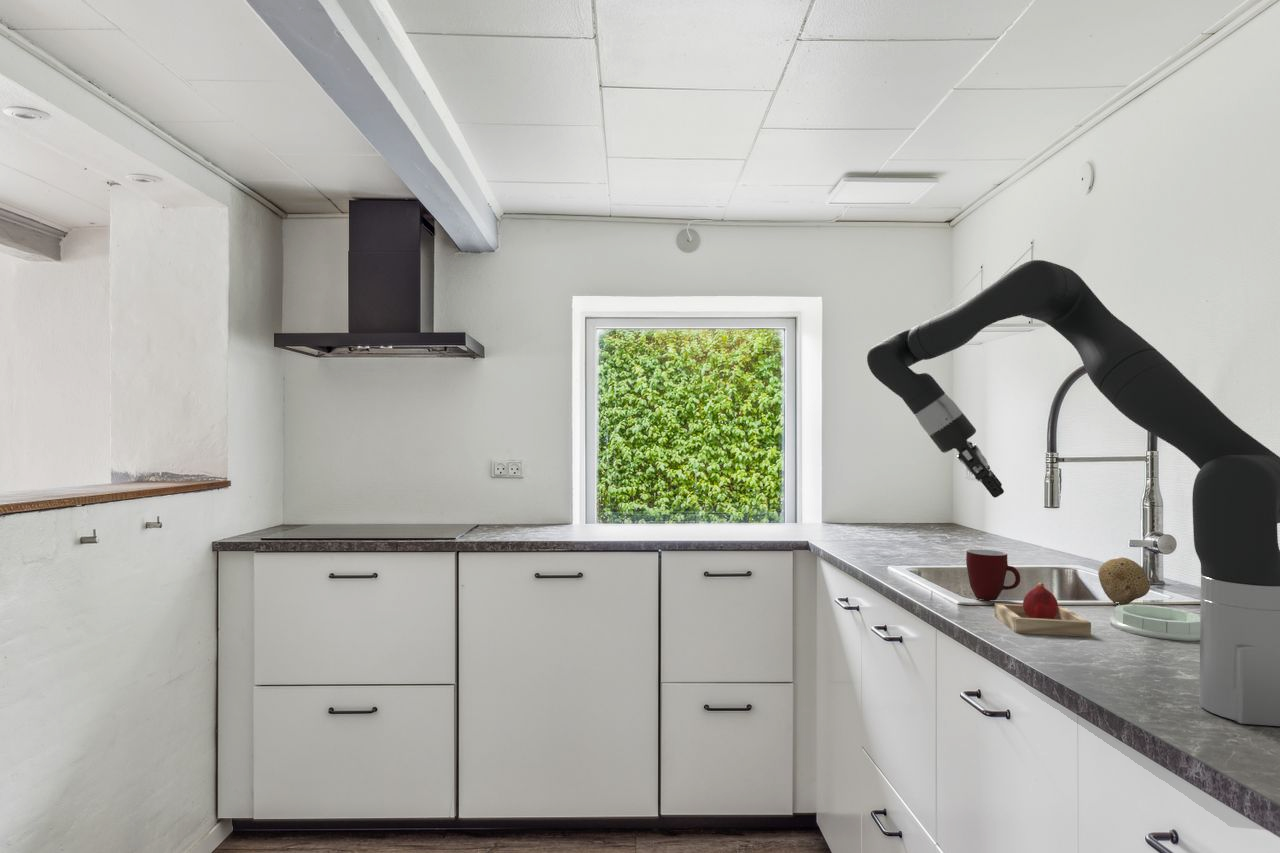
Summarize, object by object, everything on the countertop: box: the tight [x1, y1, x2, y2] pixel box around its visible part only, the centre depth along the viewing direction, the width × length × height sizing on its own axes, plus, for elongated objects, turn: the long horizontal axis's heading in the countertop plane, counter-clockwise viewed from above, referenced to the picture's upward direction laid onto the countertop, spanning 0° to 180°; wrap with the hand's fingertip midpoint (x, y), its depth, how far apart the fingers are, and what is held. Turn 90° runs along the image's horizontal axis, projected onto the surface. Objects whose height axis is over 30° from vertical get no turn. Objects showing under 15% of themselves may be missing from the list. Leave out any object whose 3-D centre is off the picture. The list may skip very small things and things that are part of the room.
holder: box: [994, 602, 1092, 638], centre depth 140 cm, size 12×12×2 cm
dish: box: [1109, 603, 1200, 642], centre depth 139 cm, size 15×15×3 cm
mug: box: [965, 549, 1021, 602], centre depth 162 cm, size 11×8×10 cm
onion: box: [1022, 582, 1059, 619], centre depth 140 cm, size 6×6×8 cm
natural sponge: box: [1097, 557, 1151, 605], centre depth 158 cm, size 9×9×10 cm
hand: (998, 491), depth 143 cm, fingers open, 8 cm apart
